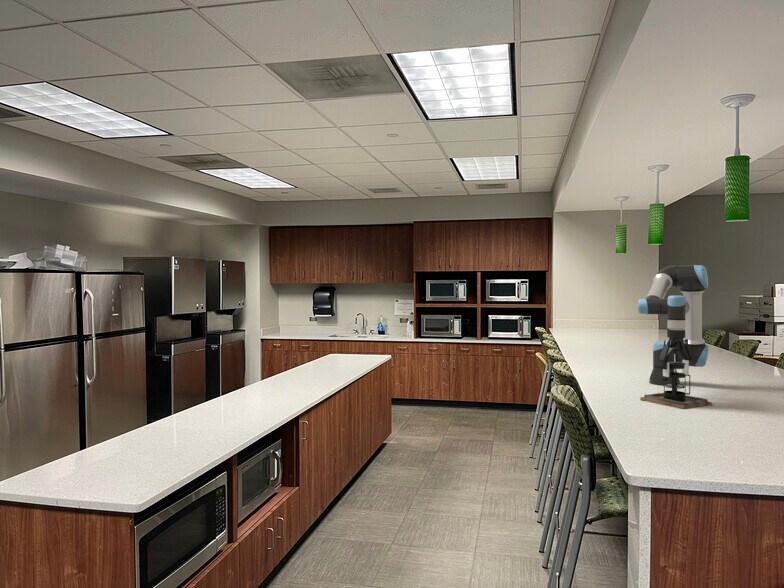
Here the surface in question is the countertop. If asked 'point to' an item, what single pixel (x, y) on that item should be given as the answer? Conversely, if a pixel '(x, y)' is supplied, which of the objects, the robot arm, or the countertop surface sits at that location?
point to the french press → (674, 375)
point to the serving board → (689, 402)
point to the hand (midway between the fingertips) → (675, 375)
